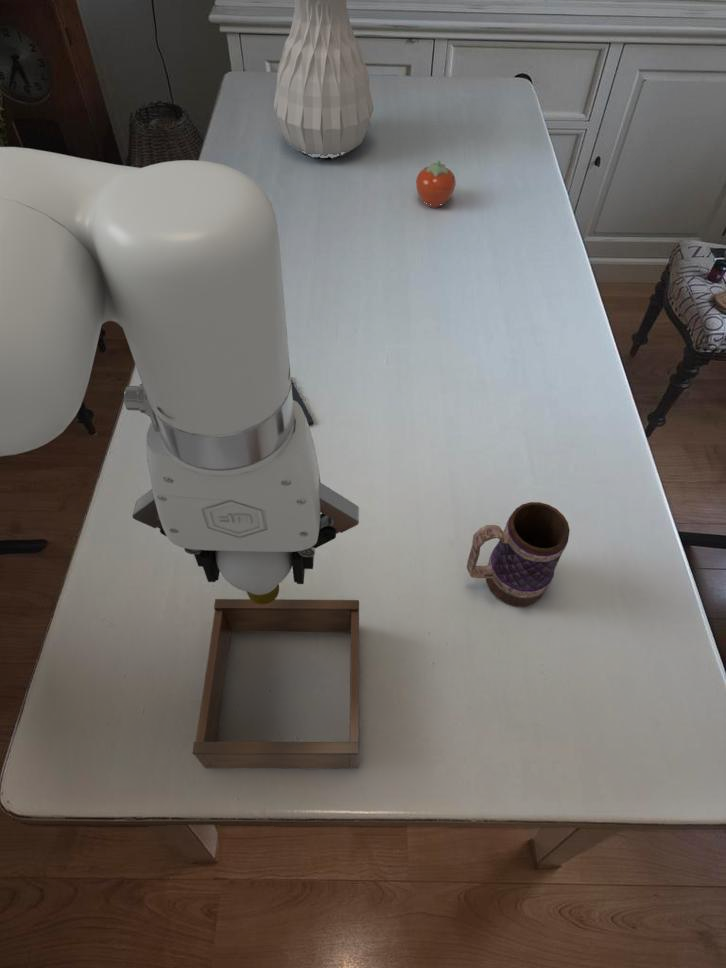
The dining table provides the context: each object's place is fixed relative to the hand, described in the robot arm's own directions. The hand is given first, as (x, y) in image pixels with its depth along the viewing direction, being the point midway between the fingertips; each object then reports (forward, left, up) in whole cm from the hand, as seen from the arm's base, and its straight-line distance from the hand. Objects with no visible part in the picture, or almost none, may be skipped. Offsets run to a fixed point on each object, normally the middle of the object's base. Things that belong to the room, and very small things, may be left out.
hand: (258, 565), depth 49 cm
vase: (+46, +102, -21) cm, 114 cm away
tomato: (+58, +74, -21) cm, 96 cm away
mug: (+27, -1, -21) cm, 34 cm away
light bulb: (0, 0, -5) cm, 5 cm away
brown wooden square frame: (0, -3, -21) cm, 21 cm away
